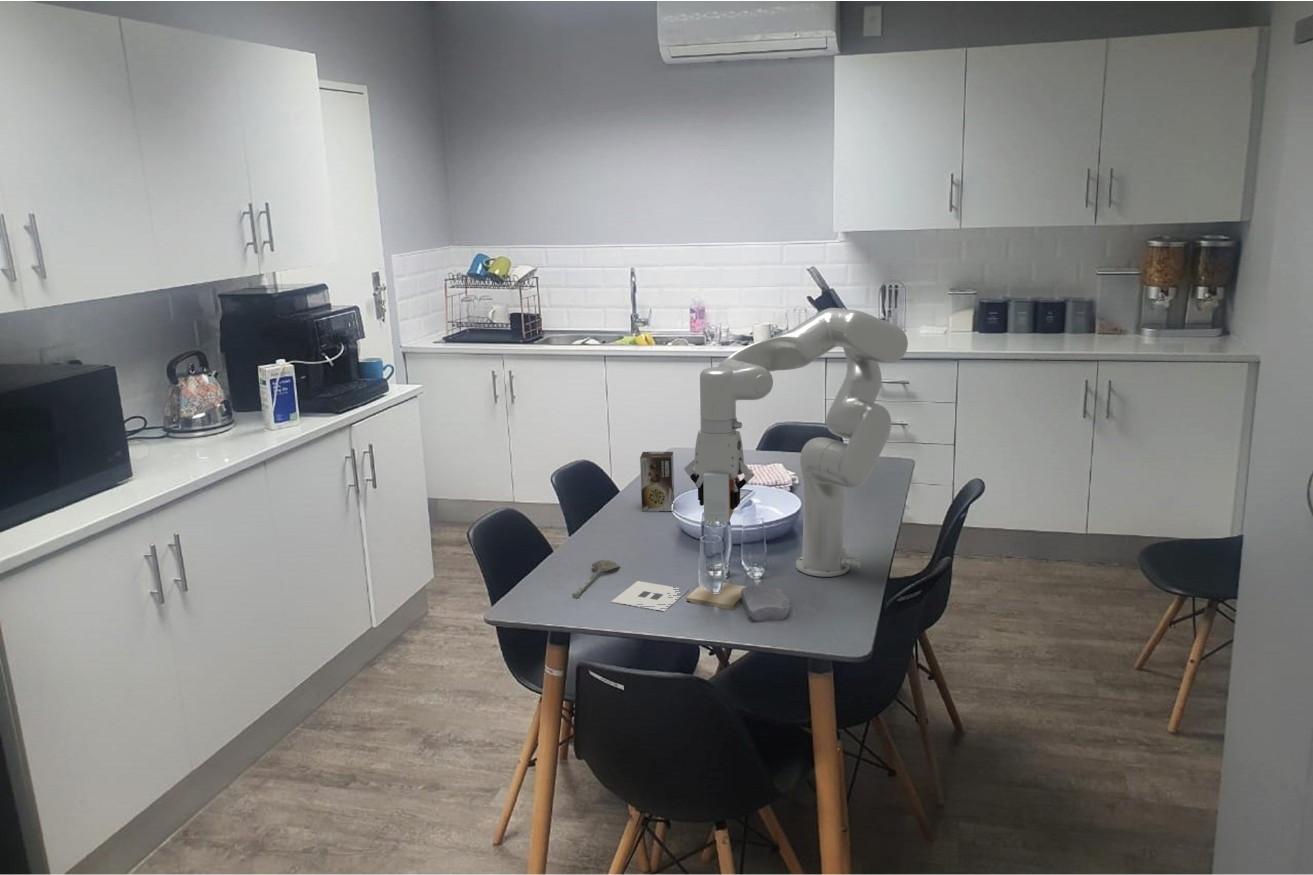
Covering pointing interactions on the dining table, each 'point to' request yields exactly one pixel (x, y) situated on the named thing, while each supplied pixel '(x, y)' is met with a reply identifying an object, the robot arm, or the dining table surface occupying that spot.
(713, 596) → the wooden board
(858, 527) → the dining table surface
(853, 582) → the dining table surface
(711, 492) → the small box
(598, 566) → the soupspoon
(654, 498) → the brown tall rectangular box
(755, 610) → the stone block
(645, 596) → the cream tile
